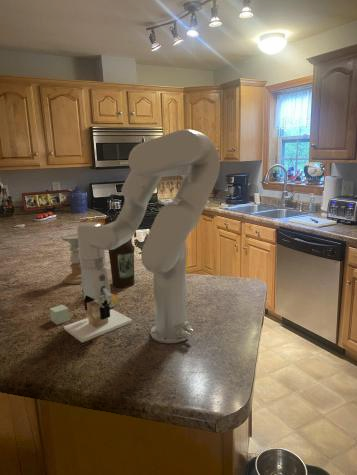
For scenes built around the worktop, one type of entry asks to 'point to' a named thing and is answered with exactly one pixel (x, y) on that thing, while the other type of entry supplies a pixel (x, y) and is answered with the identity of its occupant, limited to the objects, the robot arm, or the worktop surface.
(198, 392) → the worktop surface
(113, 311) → the ceramic tile
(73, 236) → the candle holder
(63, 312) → the sage cube
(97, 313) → the maple block
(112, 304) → the bread roll
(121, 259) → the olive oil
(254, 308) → the worktop surface
